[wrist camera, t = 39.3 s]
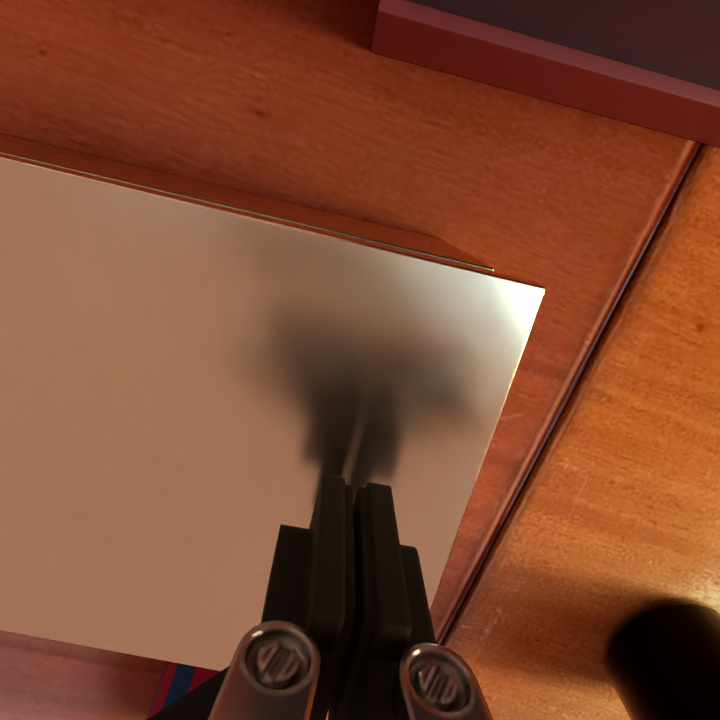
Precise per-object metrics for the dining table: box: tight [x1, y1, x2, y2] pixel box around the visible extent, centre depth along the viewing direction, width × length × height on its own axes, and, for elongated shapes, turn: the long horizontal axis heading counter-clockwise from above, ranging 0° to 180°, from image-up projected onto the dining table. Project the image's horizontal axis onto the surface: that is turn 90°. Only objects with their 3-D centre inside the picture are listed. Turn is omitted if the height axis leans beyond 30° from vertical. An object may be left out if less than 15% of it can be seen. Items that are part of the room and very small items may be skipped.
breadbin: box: [0, 134, 494, 271], centre depth 18 cm, size 17×14×8 cm
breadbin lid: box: [0, 153, 545, 671], centre depth 13 cm, size 17×14×1 cm
